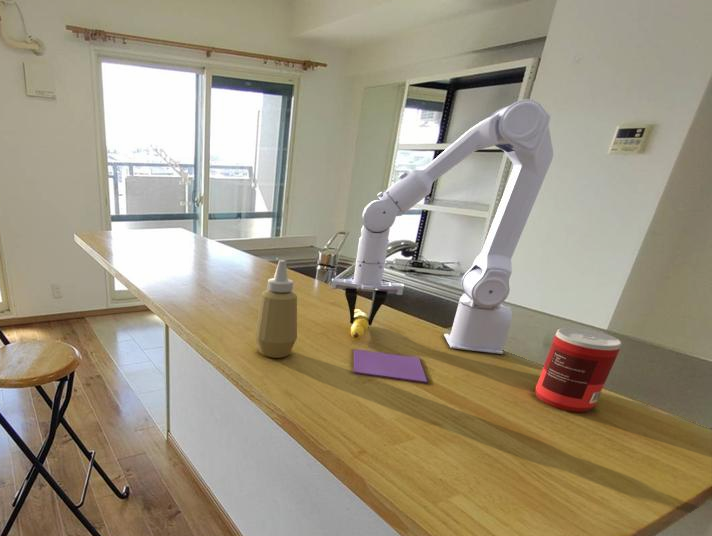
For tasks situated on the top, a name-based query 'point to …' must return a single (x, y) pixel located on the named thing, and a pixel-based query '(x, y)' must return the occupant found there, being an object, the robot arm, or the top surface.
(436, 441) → the top surface
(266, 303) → the squeeze bottle
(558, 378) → the canned food
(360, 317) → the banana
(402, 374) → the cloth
